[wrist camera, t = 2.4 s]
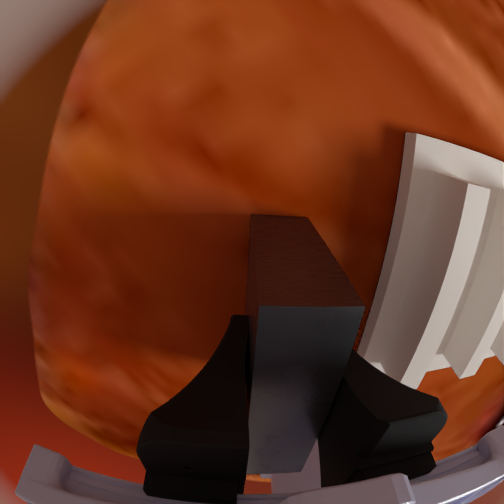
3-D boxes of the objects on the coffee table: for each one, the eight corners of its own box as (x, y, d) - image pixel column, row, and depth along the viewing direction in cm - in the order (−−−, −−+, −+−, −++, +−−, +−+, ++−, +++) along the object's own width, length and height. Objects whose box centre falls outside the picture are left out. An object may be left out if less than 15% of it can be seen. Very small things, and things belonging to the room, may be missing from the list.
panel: (284, 367, 17) (301, 471, 10) (242, 366, 16) (243, 474, 10) (307, 217, 13) (365, 305, 7) (251, 214, 13) (259, 305, 6)
